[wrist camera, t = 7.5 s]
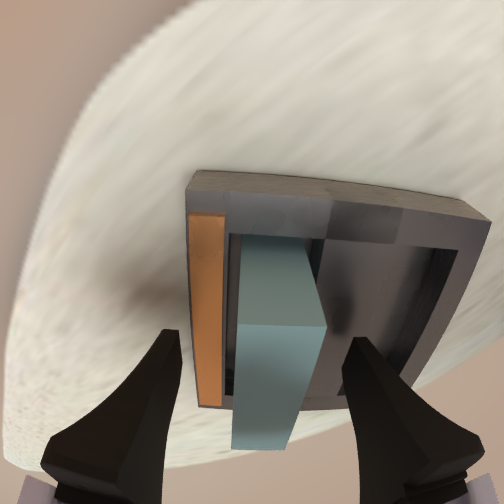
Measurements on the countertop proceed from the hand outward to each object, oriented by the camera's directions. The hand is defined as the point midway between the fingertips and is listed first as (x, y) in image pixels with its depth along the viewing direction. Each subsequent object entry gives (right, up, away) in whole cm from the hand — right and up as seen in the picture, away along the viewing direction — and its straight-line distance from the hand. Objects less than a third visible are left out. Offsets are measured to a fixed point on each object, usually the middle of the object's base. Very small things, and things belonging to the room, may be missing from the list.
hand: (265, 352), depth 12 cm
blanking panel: (0, +1, +2) cm, 3 cm away
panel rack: (+3, +2, +3) cm, 5 cm away
